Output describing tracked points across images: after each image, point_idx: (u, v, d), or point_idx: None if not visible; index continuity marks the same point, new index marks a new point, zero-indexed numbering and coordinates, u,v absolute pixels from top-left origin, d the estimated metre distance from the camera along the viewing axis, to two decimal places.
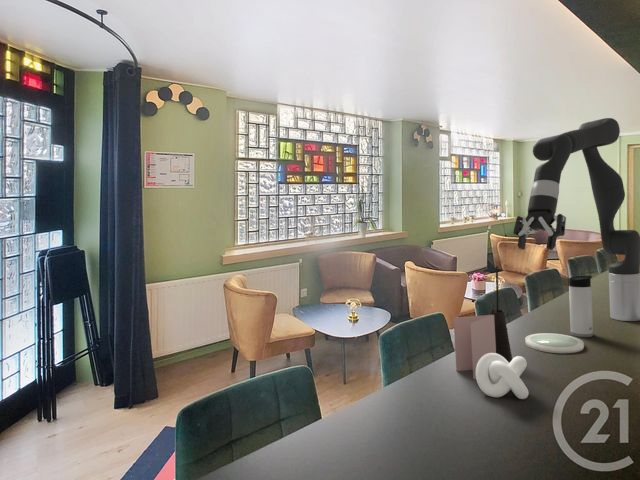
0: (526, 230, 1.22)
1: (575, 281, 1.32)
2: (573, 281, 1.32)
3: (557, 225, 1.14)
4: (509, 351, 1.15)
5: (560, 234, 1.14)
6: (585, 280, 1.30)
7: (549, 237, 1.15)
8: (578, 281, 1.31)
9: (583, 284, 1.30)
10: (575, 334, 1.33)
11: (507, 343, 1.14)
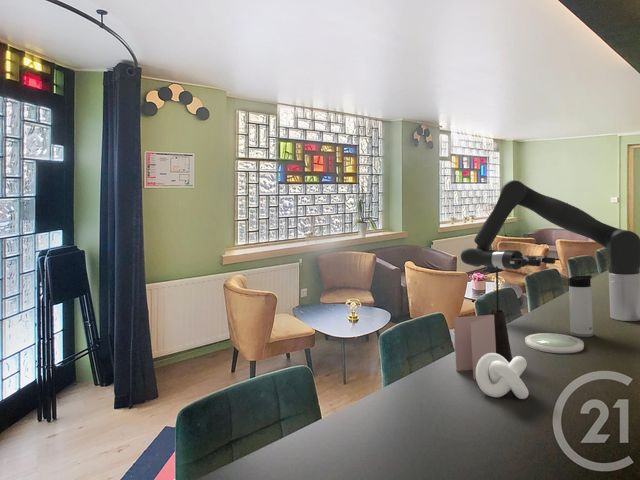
0: None
1: (575, 281, 1.32)
2: (573, 281, 1.32)
3: None
4: (509, 351, 1.15)
5: (524, 263, 1.43)
6: (585, 280, 1.30)
7: (531, 265, 1.43)
8: (578, 281, 1.31)
9: (582, 284, 1.30)
10: (575, 334, 1.33)
11: (507, 343, 1.14)
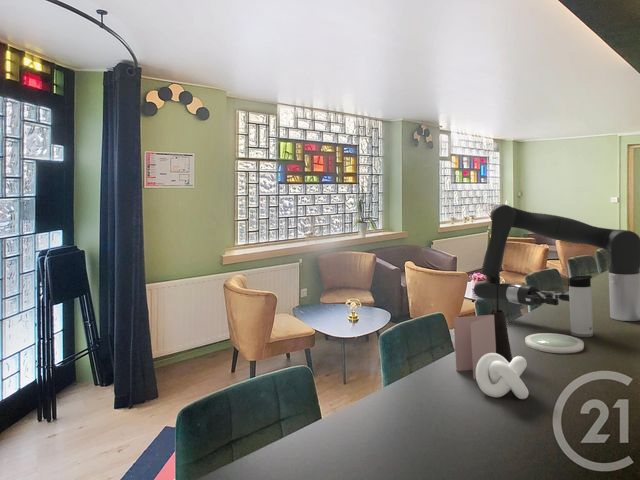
0: None
1: (575, 281, 1.32)
2: (573, 281, 1.32)
3: None
4: (509, 351, 1.15)
5: (540, 301, 1.39)
6: (585, 280, 1.30)
7: None
8: (578, 281, 1.31)
9: (582, 284, 1.30)
10: (575, 334, 1.33)
11: (507, 343, 1.14)
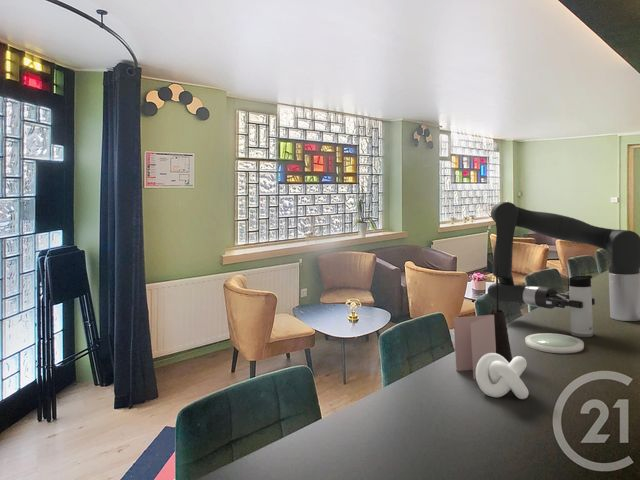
0: None
1: (575, 281, 1.32)
2: (573, 281, 1.32)
3: None
4: (509, 351, 1.15)
5: (564, 304, 1.33)
6: (585, 280, 1.30)
7: (572, 306, 1.33)
8: (578, 281, 1.31)
9: (583, 284, 1.30)
10: (575, 334, 1.33)
11: (507, 343, 1.14)
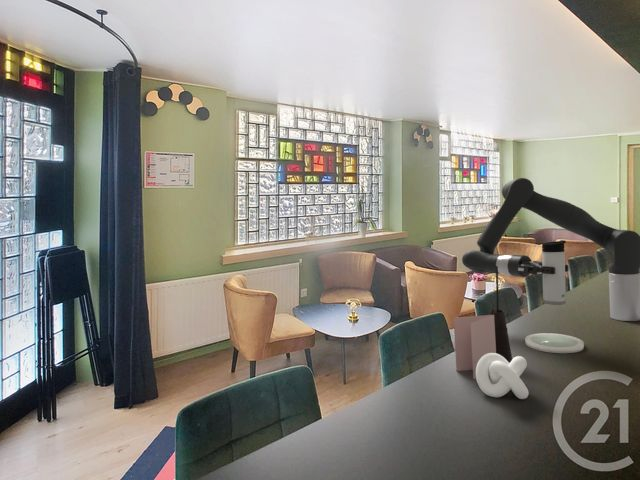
0: None
1: (548, 246, 1.25)
2: (546, 246, 1.25)
3: None
4: (509, 351, 1.15)
5: (536, 270, 1.26)
6: (558, 245, 1.23)
7: None
8: (551, 246, 1.24)
9: (555, 248, 1.24)
10: (547, 302, 1.26)
11: (507, 343, 1.14)
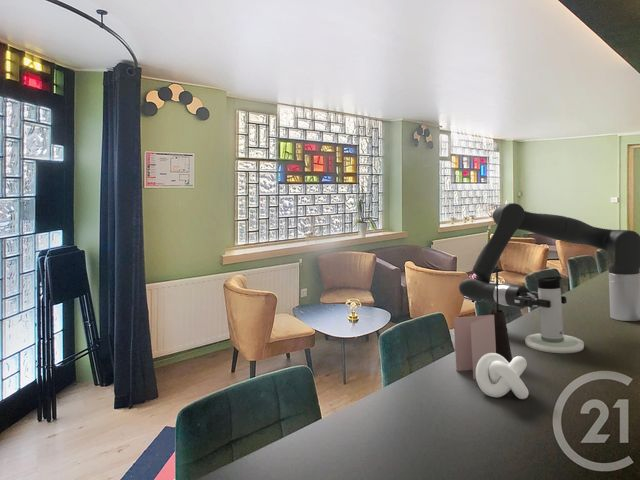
0: None
1: (543, 282, 1.24)
2: (541, 282, 1.25)
3: None
4: (509, 351, 1.15)
5: (531, 303, 1.25)
6: (554, 281, 1.23)
7: None
8: (546, 282, 1.24)
9: (551, 285, 1.23)
10: (545, 339, 1.25)
11: (507, 343, 1.14)
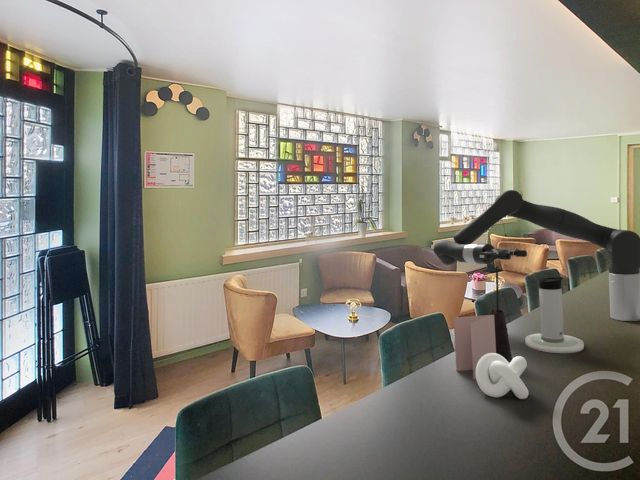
0: None
1: (545, 283, 1.24)
2: (543, 283, 1.25)
3: (489, 259, 1.38)
4: (509, 351, 1.15)
5: (493, 256, 1.35)
6: (555, 282, 1.23)
7: None
8: (548, 283, 1.23)
9: (552, 286, 1.23)
10: (545, 339, 1.25)
11: (507, 343, 1.14)
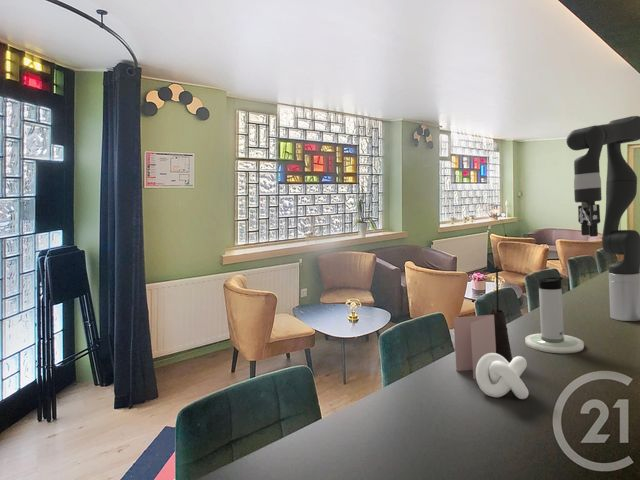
0: (582, 219, 1.37)
1: (545, 283, 1.24)
2: (543, 283, 1.25)
3: (590, 215, 1.28)
4: (509, 351, 1.15)
5: (595, 222, 1.28)
6: (555, 282, 1.23)
7: (589, 226, 1.30)
8: (548, 283, 1.23)
9: (552, 286, 1.23)
10: (545, 339, 1.25)
11: (507, 343, 1.14)
